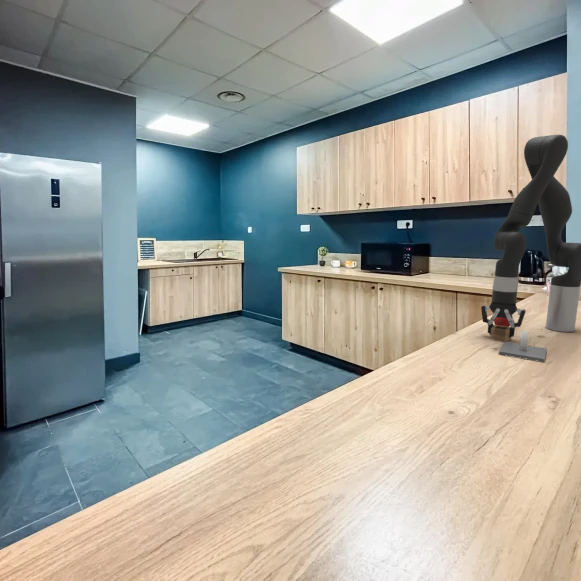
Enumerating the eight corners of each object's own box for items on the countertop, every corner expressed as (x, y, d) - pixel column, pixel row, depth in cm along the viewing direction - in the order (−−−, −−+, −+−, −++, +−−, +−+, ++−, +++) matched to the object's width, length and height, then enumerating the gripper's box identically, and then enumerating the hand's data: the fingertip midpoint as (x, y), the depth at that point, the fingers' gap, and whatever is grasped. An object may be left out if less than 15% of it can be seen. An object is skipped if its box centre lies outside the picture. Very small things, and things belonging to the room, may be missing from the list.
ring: (492, 335, 139) (493, 324, 139) (510, 337, 136) (511, 327, 135) (490, 339, 135) (491, 328, 134) (508, 341, 132) (509, 330, 131)
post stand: (503, 344, 129) (505, 324, 127) (546, 351, 122) (548, 330, 121) (498, 354, 119) (500, 332, 118) (544, 362, 112) (547, 339, 111)
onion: (489, 329, 147) (491, 309, 146) (499, 327, 149) (501, 307, 148) (503, 333, 142) (505, 312, 140) (513, 331, 144) (516, 310, 143)
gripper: (530, 289, 131) (524, 336, 134) (484, 285, 139) (480, 330, 142) (528, 293, 125) (522, 342, 128) (480, 288, 133) (476, 335, 136)
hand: (500, 335), depth 135 cm, fingers closed on ring, 5 cm apart
